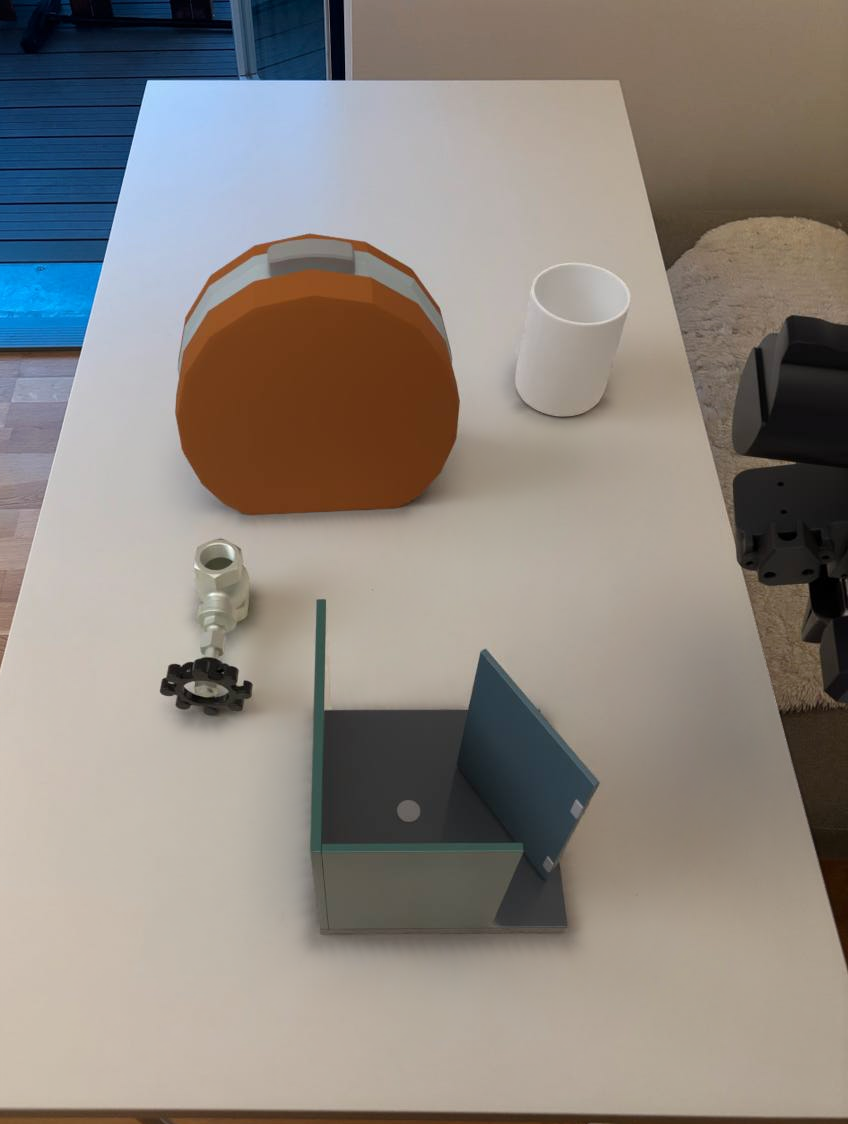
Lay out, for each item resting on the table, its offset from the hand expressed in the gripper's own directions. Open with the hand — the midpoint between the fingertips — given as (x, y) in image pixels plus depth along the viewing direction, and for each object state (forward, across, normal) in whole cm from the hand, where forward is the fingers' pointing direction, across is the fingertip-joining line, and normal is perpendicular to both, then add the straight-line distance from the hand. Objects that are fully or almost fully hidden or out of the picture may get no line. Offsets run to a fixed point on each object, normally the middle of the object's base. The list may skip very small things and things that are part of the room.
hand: (809, 638), depth 58 cm
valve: (+12, 0, -40) cm, 42 cm away
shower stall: (+12, +11, -22) cm, 27 cm away
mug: (+12, -36, -16) cm, 41 cm away
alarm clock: (+12, -20, -36) cm, 43 cm away
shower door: (+10, +11, -17) cm, 23 cm away
